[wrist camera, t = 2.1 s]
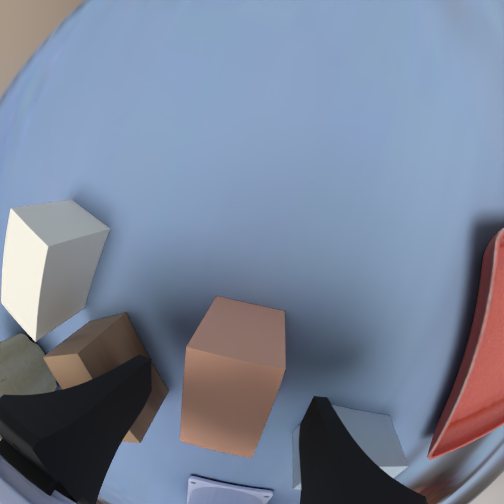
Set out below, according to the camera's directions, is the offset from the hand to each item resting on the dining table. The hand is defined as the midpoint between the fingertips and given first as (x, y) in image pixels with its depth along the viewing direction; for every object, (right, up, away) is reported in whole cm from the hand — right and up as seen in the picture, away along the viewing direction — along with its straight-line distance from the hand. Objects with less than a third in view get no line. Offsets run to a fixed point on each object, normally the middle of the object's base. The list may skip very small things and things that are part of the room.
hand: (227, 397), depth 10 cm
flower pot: (-19, -4, +7) cm, 21 cm away
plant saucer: (+23, 0, +2) cm, 23 cm away
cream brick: (-10, +6, +4) cm, 12 cm away
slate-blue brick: (+7, -6, +5) cm, 10 cm away
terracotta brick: (0, +1, +4) cm, 4 cm away
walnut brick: (-7, -1, +5) cm, 9 cm away
